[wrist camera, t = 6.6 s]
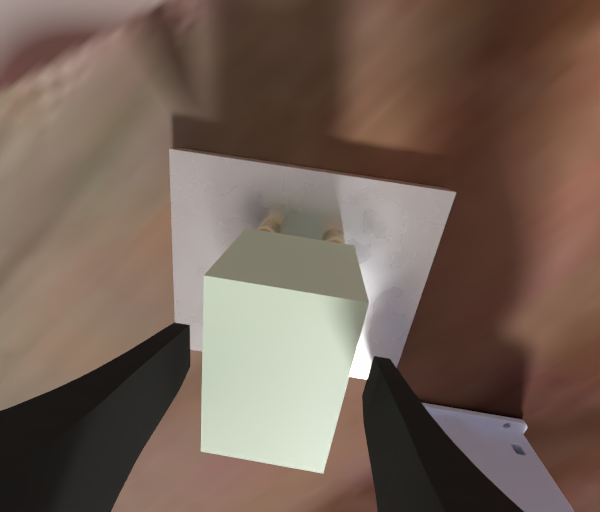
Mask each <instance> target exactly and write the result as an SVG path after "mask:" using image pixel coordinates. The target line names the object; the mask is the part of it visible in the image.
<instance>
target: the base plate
mask: <svg viewBox="0 0 600 512" xmlns="http://www.w3.org/2000/svg"><path fill="white" fill-rule="evenodd" d="M169 159H170V190H171V220H172V250H173V281H174V311H175V323H181V324H186V325H190V350H196V351H202V352H203V289H204V275H205V273H206V272H207V271H208V270H209V269H210V268H211V267H212V266H213V264H214V263H215V262H216V261H217V260H218V259H219V258H220V257H221V255H222V254H223V253H224V252H225V251H226V250H227V249H228V248H229V246H230V245H231V244H232V243H233V242H234V241H235V240H236V239H237V238H238V236H239V235H240V234H241V233H242V232H243V231H244V230H245V229H246V228H249V229H255V230H261V231H267V232H274V233H280V234H286V235H292V236H298V237H305V238H311V239H317V240H323V241H330V242H336V243H342V244H348V245H354V247H355V251H356V254H357V258H358V262H359V266H360V270H361V274H362V277H363V281H364V285H365V289H366V293H367V297H368V300H369V305H368V309H367V313H366V316H365V320H364V324H363V327H362V331H361V335H360V339H359V342H358V346H357V350H356V353H355V357H354V361H353V365H352V368H351V372H350V376H351V377H357V378H363V379H367V378H368V375H369V371H370V368H371V365H372V361H373V358H374V356H377V357H383V358H389V359H391V361H392V362H393V364H394V365H395V367H396V368H397V366H398V363H399V360H400V357H401V354H402V351H403V348H404V345H405V342H406V339H407V336H408V333H409V330H410V327H411V325H412V322H413V319H414V316H415V313H416V310H417V307H418V304H419V301H420V298H421V295H422V292H423V289H424V286H425V283H426V280H427V277H428V274H429V272H430V269H431V266H432V263H433V260H434V257H435V254H436V251H437V248H438V245H439V242H440V239H441V236H442V233H443V230H444V227H445V224H446V221H447V218H448V216H449V213H450V210H451V207H452V204H453V201H454V198H455V195H456V192H455V191H452V190H450V189H447V188H444V187H438V186H431V185H424V184H418V183H411V182H405V181H398V180H391V179H385V178H378V177H371V176H365V175H358V174H351V173H345V172H338V171H332V170H325V169H318V168H312V167H305V166H298V165H292V164H285V163H278V162H272V161H265V160H259V159H252V158H245V157H239V156H232V155H225V154H219V153H212V152H205V151H199V150H192V149H186V148H175V149H169Z"/></svg>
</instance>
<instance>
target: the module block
mask: <svg viewBox="0 0 600 512" xmlns="http://www.w3.org/2000/svg"><path fill="white" fill-rule="evenodd" d="M368 305H369V300H368V297H367V293H366V289H365V285H364V281H363V277H362V274H361V270H360V266H359V262H358V258H357V254H356V251H355V247H354V245H348V244H342V243H336V242H330V241H323V240H317V239H311V238H305V237H298V236H292V235H286V234H280V233H274V232H267V231H261V230H255V229H249V228H246V229H245V230H244V231H243V232H242V233H241V234H240V235H239V236H238V238H237V239H236V240H235V241H234V242H233V243H232V244H231V245H230V246H229V248H228V249H227V250H226V251H225V252H224V253H223V254H222V255H221V257H220V258H219V259H218V260H217V261H216V262H215V263H214V264H213V266H212V267H211V268H210V269H209V270H208V271H207V272H206V273H205V275H204V289H203V352H202V415H201V452H207V453H212V454H218V455H224V456H229V457H235V458H240V459H246V460H251V461H257V462H263V463H268V464H274V465H279V466H285V467H290V468H296V469H301V470H307V471H313V472H318V473H324V469H325V465H326V461H327V458H328V454H329V450H330V447H331V443H332V439H333V435H334V432H335V428H336V424H337V420H338V417H339V413H340V409H341V406H342V402H343V398H344V394H345V391H346V387H347V383H348V380H349V376H350V372H351V368H352V365H353V361H354V357H355V353H356V350H357V346H358V342H359V339H360V335H361V331H362V327H363V324H364V320H365V316H366V313H367V309H368Z"/></svg>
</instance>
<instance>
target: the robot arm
mask: <svg viewBox="0 0 600 512" xmlns="http://www.w3.org/2000/svg"><path fill="white" fill-rule="evenodd" d="M189 368H190V325H186V324H181V323H173V324H171V325H170V326H168V327H166V328H165V329H163V330H162V331H160V332H158V333H157V334H155V335H154V336H152V337H150V338H149V339H147V340H146V341H144V342H142V343H141V344H139V345H137V346H136V347H134V348H133V349H131V350H129V351H128V352H126V353H124V354H122V355H121V356H119V357H117V358H115V359H113V360H112V361H110V362H108V363H106V364H105V365H103V366H101V367H99V368H97V369H96V370H94V371H92V372H90V373H88V374H86V375H84V376H82V377H80V378H78V379H76V380H74V381H71V382H69V383H67V384H65V385H63V386H61V387H59V388H56V389H54V390H52V391H49V392H47V393H45V394H42V395H40V396H37V397H35V398H32V399H30V400H28V401H25V402H23V403H20V404H18V405H15V406H13V407H10V408H8V409H5V410H2V411H0V512H111V510H112V508H113V506H114V504H115V502H116V499H117V497H118V495H119V493H120V491H121V489H122V487H123V485H124V483H125V481H126V480H127V478H128V476H129V474H130V472H131V470H132V468H133V466H134V464H135V462H136V460H137V458H138V457H139V455H140V453H141V451H142V450H143V448H144V446H145V445H146V443H147V441H148V440H149V438H150V437H151V435H152V433H153V432H154V430H155V429H156V427H157V425H158V424H159V422H160V421H161V419H162V417H163V416H164V414H165V413H166V411H167V409H168V408H169V406H170V404H171V403H172V401H173V399H174V398H175V396H176V395H177V393H178V391H179V389H180V387H181V385H182V383H183V381H184V379H185V377H186V374H187V372H188V370H189ZM362 398H363V418H364V427H365V433H366V439H367V445H368V451H369V457H370V463H371V469H372V475H373V480H374V486H375V493H376V500H377V508H378V512H574V510H573V509H572V507H571V506H570V504H569V503H568V501H567V500H566V498H565V497H564V495H563V494H562V492H561V491H560V489H559V487H558V486H557V484H556V483H555V481H554V480H553V478H552V477H551V475H550V474H549V472H548V471H547V469H546V468H545V466H544V465H543V463H542V462H541V460H540V459H539V457H538V456H537V454H536V453H535V451H534V450H533V448H532V447H531V445H530V444H529V442H528V441H527V439H526V438H525V436H524V435H523V434H524V433H525V431H526V429H527V425H526V423H525V422H524V421H523V420H521V419H516V418H510V417H504V416H498V415H492V414H486V413H481V412H475V411H469V410H463V409H457V408H451V407H445V406H439V405H433V404H427V403H422V402H420V400H419V399H418V398H417V396H416V395H415V394H414V392H413V391H412V389H411V388H410V387H409V385H408V384H407V382H406V381H405V379H404V378H403V377H402V375H401V374H400V372H399V371H398V369H397V368H396V367H395V365H394V364H393V362H392V361H391V359H389V358H383V357H377V356H374V358H373V361H372V365H371V368H370V371H369V375H368V378H367V382H366V385H365V388H364V392H363V395H362Z"/></svg>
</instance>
